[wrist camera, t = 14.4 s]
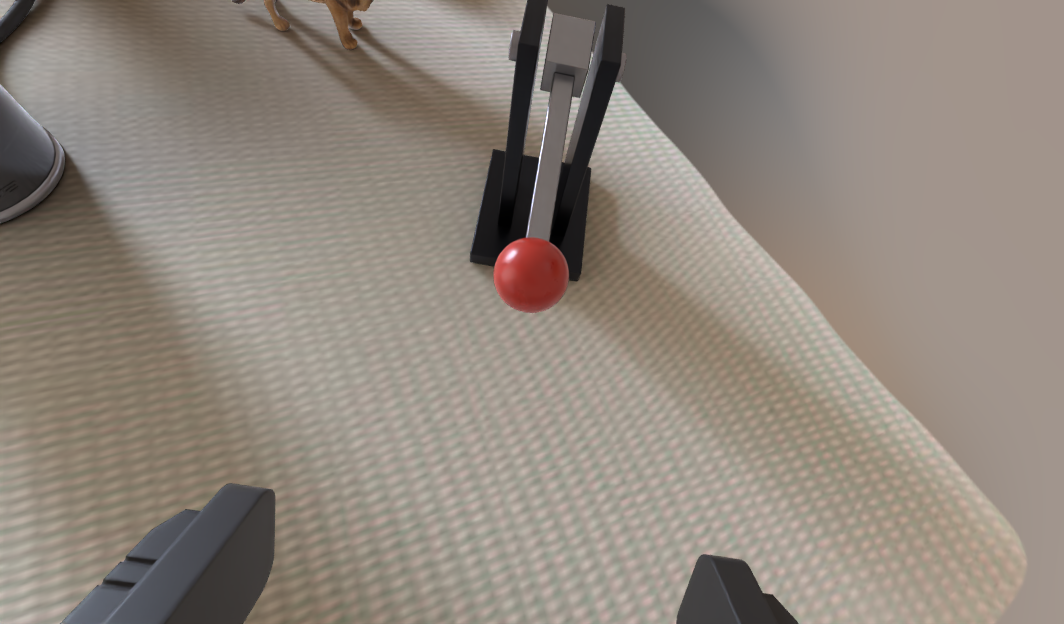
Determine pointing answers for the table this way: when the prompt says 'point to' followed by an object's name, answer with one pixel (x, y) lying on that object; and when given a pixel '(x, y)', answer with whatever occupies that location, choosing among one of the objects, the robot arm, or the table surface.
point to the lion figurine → (341, 7)
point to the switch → (547, 176)
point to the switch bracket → (517, 172)
